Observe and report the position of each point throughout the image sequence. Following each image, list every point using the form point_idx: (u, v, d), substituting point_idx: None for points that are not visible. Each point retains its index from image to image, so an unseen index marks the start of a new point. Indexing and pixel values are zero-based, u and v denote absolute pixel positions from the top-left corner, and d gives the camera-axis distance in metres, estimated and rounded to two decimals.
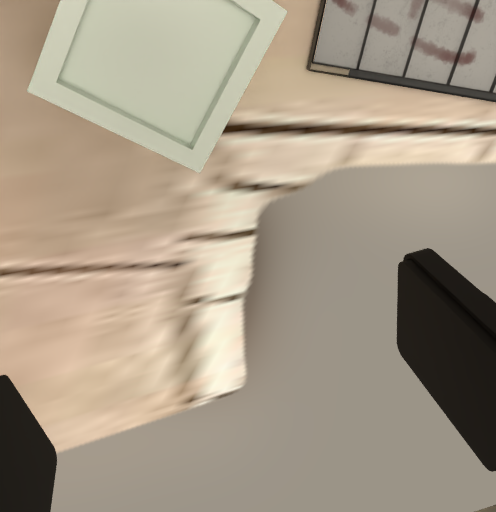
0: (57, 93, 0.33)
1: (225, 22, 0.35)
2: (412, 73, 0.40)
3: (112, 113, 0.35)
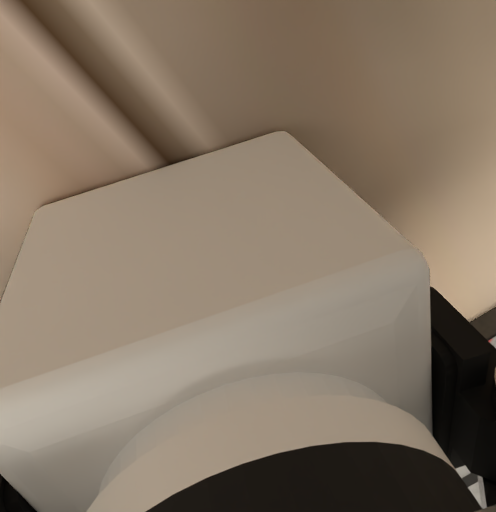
0: None
1: None
2: None
3: None
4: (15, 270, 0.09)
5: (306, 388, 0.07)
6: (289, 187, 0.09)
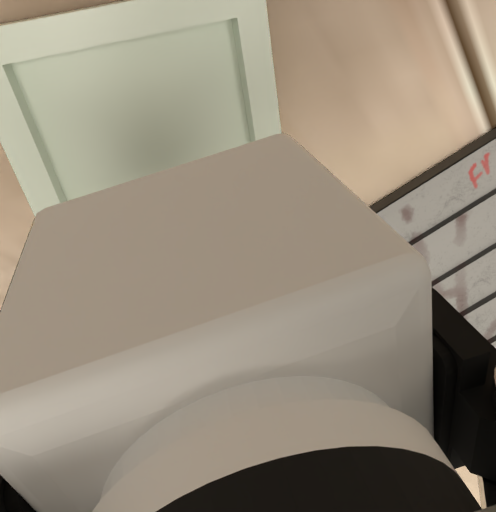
0: None
1: None
2: None
3: (35, 155, 0.23)
4: (17, 273, 0.09)
5: (308, 392, 0.07)
6: (290, 190, 0.09)
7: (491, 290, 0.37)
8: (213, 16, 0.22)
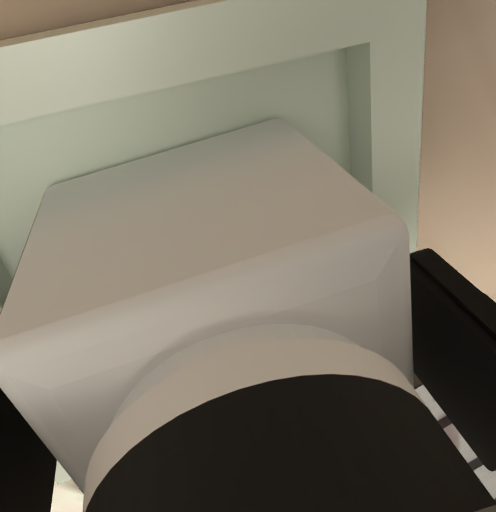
0: None
1: None
2: None
3: None
4: (30, 238, 0.10)
5: (297, 336, 0.07)
6: (285, 166, 0.10)
7: None
8: (326, 40, 0.11)
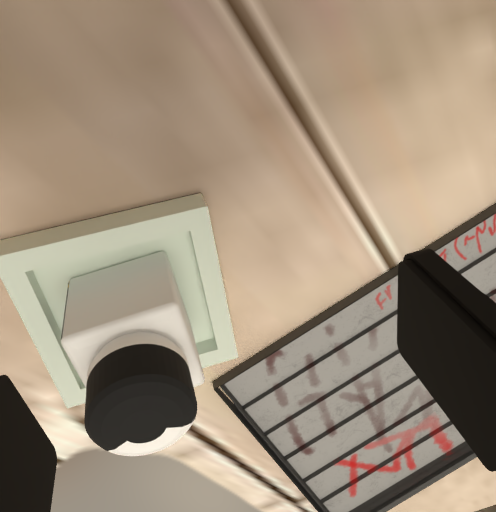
0: (16, 278, 0.30)
1: (193, 324, 0.37)
2: (271, 435, 0.46)
3: (45, 323, 0.32)
4: (67, 303, 0.29)
5: (145, 335, 0.27)
6: (154, 279, 0.30)
7: (401, 381, 0.47)
8: (173, 231, 0.31)
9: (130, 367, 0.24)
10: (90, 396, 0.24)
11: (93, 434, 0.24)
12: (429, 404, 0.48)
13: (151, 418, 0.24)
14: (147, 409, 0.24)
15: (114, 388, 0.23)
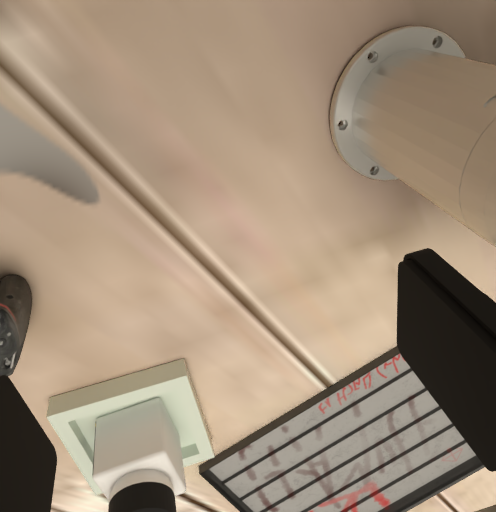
0: (62, 426, 0.46)
1: (182, 436, 0.53)
2: (245, 499, 0.62)
3: (81, 448, 0.48)
4: (95, 443, 0.45)
5: (145, 472, 0.43)
6: (151, 426, 0.45)
7: (344, 460, 0.62)
8: (164, 391, 0.46)
9: (135, 502, 0.40)
10: None
11: None
12: (367, 475, 0.63)
13: None
14: None
15: None
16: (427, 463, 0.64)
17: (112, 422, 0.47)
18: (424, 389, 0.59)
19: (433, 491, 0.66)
